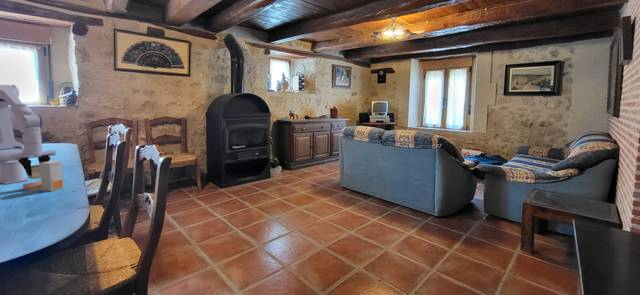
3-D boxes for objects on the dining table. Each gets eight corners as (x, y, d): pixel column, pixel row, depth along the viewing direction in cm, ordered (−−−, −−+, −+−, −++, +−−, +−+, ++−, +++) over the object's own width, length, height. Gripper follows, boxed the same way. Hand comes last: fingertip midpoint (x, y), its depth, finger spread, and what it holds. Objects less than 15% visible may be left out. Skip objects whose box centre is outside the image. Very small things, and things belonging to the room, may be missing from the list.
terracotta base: (23, 188, 128) (22, 184, 128) (43, 184, 134) (43, 180, 134) (31, 191, 125) (31, 186, 125) (52, 186, 131) (51, 182, 131)
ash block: (28, 177, 128) (26, 166, 127) (40, 175, 132) (38, 164, 131) (33, 179, 127) (31, 167, 126) (44, 177, 130) (43, 165, 129)
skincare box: (51, 191, 125) (48, 163, 123) (41, 191, 125) (38, 163, 124) (64, 187, 131) (61, 160, 130) (55, 187, 131) (52, 160, 130)
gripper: (14, 145, 119) (18, 179, 121) (58, 141, 132) (61, 171, 134) (5, 144, 122) (10, 176, 124) (49, 140, 135) (53, 170, 137)
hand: (36, 174), depth 129 cm, fingers closed on ash block, 4 cm apart
